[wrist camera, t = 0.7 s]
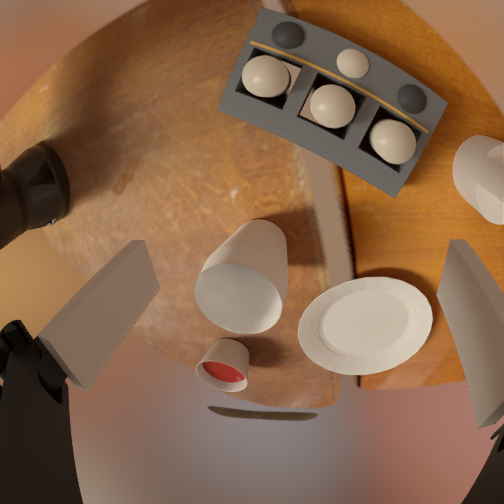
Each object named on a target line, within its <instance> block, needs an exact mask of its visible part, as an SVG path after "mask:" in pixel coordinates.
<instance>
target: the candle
mask: <svg viewBox="0 0 504 504" xmlns="http://www.w3.org/2000/svg"><path fill="white" fill-rule="evenodd" d="M248 371H249V351H248V349H247V348H246V347H245V346H244V345H243V344H242V343H240V342H238V341H236V340H233V339H227V338H223V339H219V340H217V341H215V342H214V343H213V345H212V346H211V347H210V348H209V350H208V351H207V352H206V354H205V355H204V357H203V358H202V359H201V361H200V362H199V363H198V365H197V366H196V373H197V375H198V376H199V378H200V379H201V380H202V381H204V382H205V383H206V384H208V385H209V386H212V387H213V388H216V389H219V390H222V391H228V392H237V391H241V390H243V389H245V388H246V386H247V383H248Z"/></svg>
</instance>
